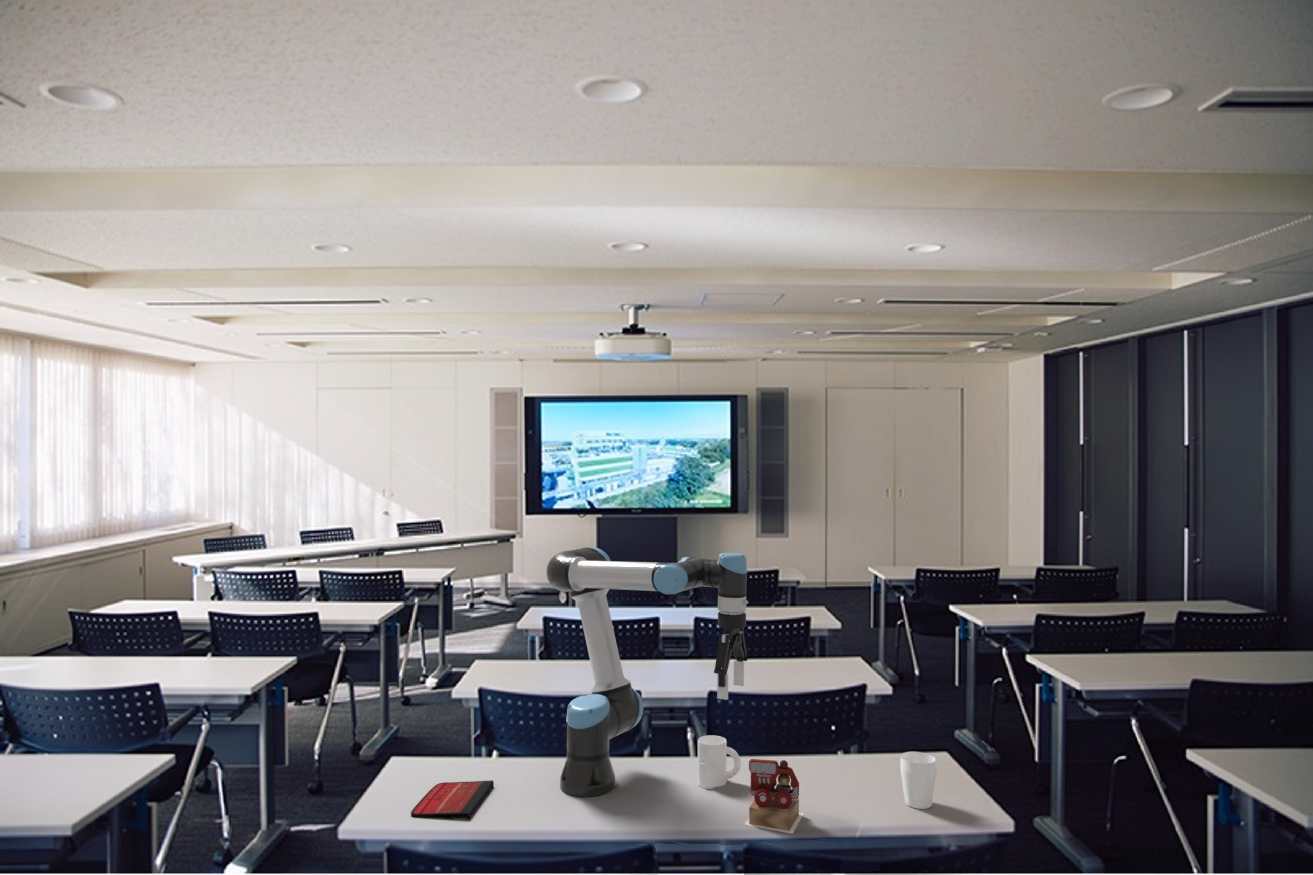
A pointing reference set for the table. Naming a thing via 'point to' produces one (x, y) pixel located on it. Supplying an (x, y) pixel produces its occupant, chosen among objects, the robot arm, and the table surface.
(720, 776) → the mug
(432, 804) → the binder
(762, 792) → the toy fire truck
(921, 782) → the cup
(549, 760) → the table surface
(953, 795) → the table surface
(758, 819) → the base block
